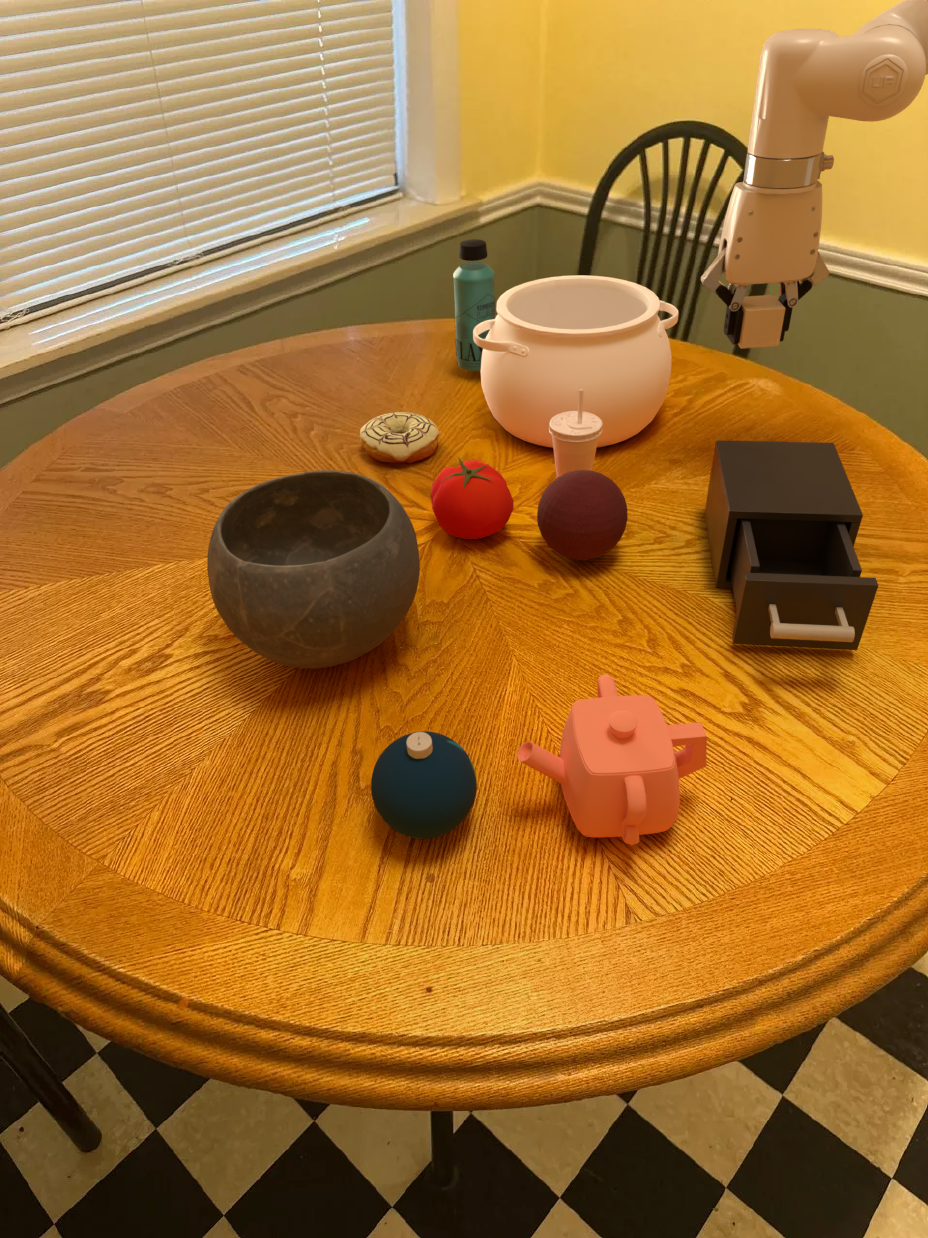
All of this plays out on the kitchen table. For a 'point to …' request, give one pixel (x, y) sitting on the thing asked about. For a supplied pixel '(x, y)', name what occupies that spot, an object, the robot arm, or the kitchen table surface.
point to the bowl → (313, 567)
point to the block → (761, 321)
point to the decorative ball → (582, 515)
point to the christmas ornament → (423, 785)
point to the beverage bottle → (472, 302)
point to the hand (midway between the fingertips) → (754, 337)
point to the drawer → (798, 585)
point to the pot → (576, 355)
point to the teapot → (620, 764)
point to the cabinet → (774, 491)
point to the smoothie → (575, 439)
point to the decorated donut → (399, 437)
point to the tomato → (471, 500)
